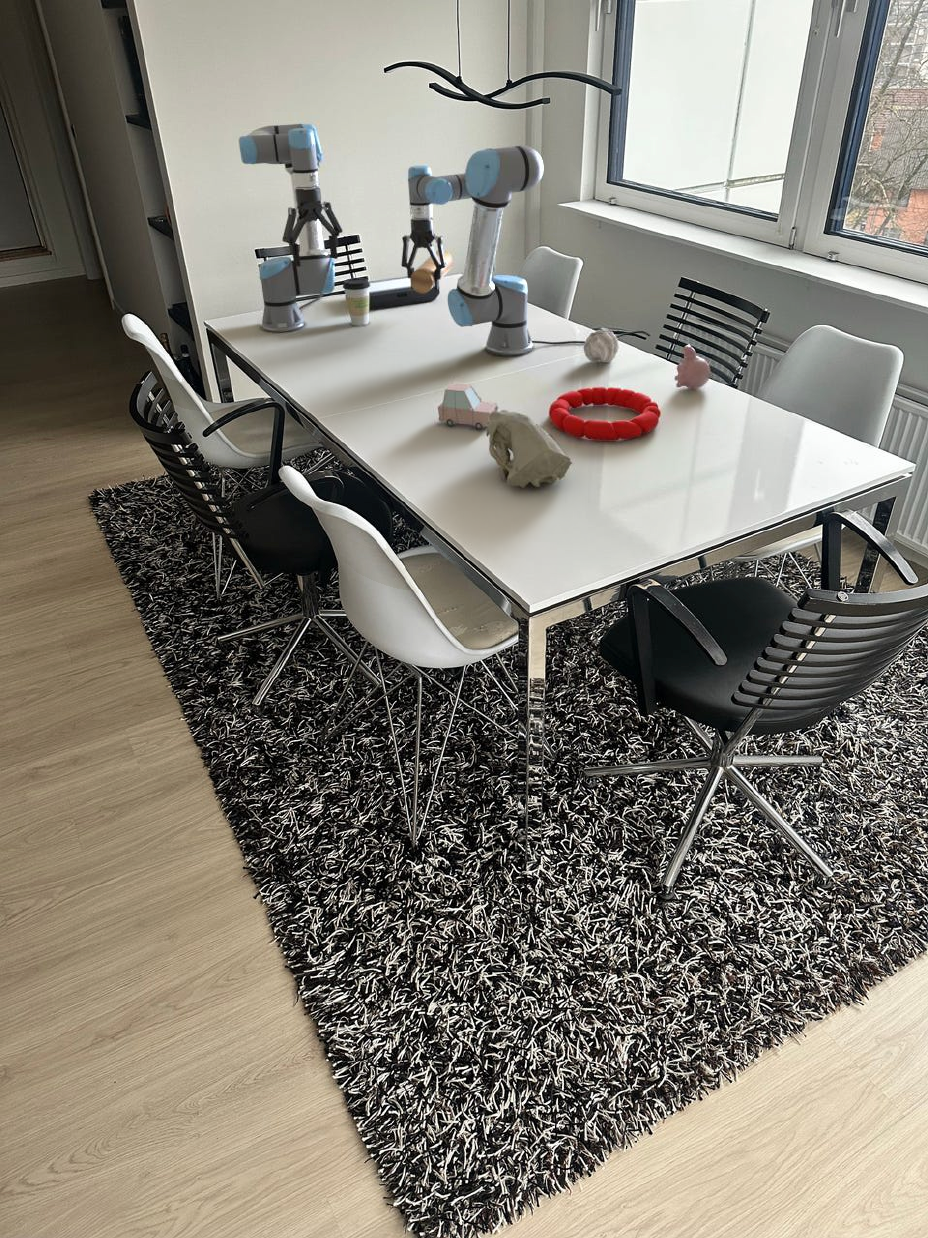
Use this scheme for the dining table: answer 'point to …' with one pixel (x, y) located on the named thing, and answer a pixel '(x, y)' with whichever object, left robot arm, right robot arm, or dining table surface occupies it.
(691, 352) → the figurine
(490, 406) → the toy car
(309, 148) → the left robot arm
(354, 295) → the coffee cup
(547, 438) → the grey irregular stone chunk
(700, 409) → the dining table surface
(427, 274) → the brown cylinder
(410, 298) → the electronic device
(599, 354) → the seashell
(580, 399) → the decorative ring
